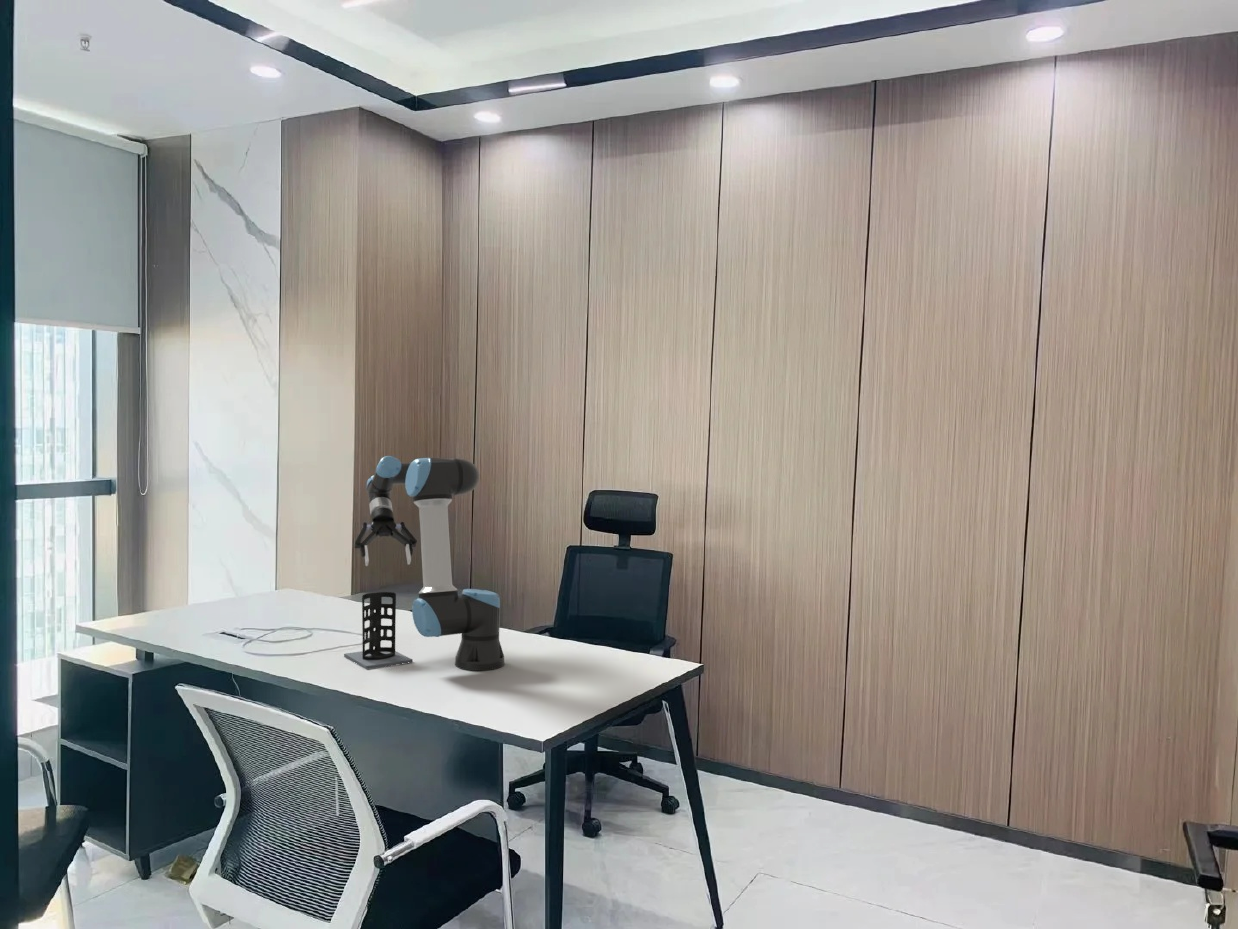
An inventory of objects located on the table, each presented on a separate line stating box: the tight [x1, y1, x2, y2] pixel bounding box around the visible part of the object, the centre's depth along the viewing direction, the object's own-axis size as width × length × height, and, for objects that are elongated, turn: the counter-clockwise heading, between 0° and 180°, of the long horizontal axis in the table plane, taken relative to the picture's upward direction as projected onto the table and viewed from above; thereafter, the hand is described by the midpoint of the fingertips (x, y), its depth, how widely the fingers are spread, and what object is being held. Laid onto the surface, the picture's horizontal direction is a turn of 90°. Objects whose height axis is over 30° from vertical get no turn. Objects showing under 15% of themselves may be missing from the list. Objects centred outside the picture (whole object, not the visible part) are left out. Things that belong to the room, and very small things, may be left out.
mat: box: [343, 650, 414, 670], centre depth 279 cm, size 18×15×1 cm
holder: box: [361, 591, 397, 660], centre depth 279 cm, size 11×8×20 cm
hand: (388, 562), depth 292 cm, fingers open, 13 cm apart
